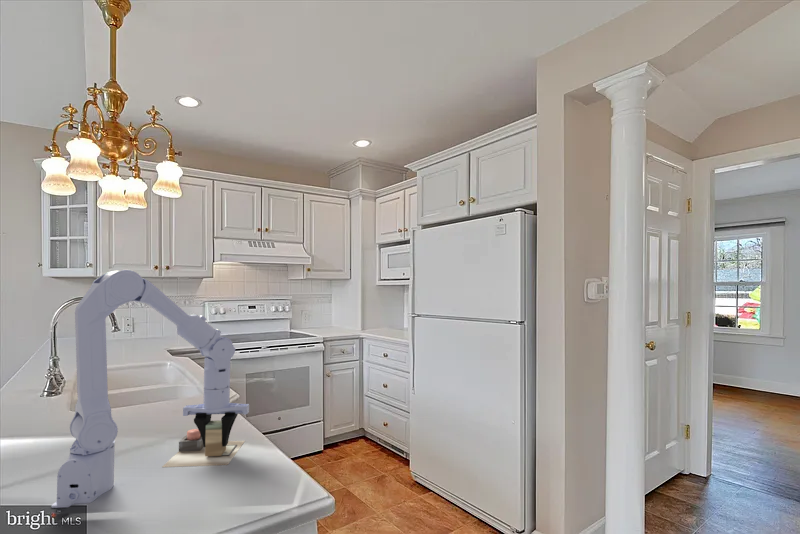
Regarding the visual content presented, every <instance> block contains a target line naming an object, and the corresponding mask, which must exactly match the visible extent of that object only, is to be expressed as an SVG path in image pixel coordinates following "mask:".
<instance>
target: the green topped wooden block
mask: <svg viewBox="0 0 800 534" xmlns="http://www.w3.org/2000/svg"><path fill="white" fill-rule="evenodd" d="M222 435H223V431H222V421H221V420H211V421H210V422H209V423H208V424H207V425H206V436H205V456H221V455H222V454H223V453H224V452H225V450H226V446H223V447H222Z"/></svg>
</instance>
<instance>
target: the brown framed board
mask: <svg viewBox="0 0 800 534" xmlns="http://www.w3.org/2000/svg"><path fill="white" fill-rule="evenodd" d="M245 442H246V440H228V444H227V445H226V450H225V452H224V453H223V454H222V455H221V456H205V447H204V446H203V441H202V437H201V434H200V439H199V440H187V434H186V435H185V436H184V437H183V438H181V439H180V440H179V441H178V451H177V452H176V453H175V454H174V455H173V456H172V457H171V458H170V459H168V461H166V462H165V463H164V464H163V465H162V466H161V468H179V467H182V468H183V467H184V468H185V467H209V466H228V465H229V464H230V462H231V461H232V460H233V458H234V457H235V455H236V454H237V453H238V452H239V451H240V449H241V447H243V444H244V443H245Z"/></svg>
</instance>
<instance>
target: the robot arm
mask: <svg viewBox="0 0 800 534" xmlns="http://www.w3.org/2000/svg"><path fill="white" fill-rule="evenodd" d="M91 283H92V284H91V285H90V287H89V289H88V290H87V291H86V293H85V294H84V295H83V296H82V298H81V299H80V301H79V303H78V304H77V305H76V307H75V309H74V310H75V312H74V319H75V320H74V323H75V325H74V329H75V357H76V358H75V359H76V384H77V385H76V389H77V399H76V402H75V406H74V408H75V410H74V416H73V418H72V420H71V422H70V424H69V432H70V434H71V436H72V437H74V439H75V440H74V442H73V443H72V444H71V446H70V447H69V456H68V458H67V460H66V461H65V462H64V463H63V464H62V465H61V467H60V468H59V469H58V472H57V479H56V501H55V502H54V503H52V504H51V506H50V507H51V508H52V509H54V508H55V509H57V508H69V507H71V506H72V505H75V504H91V503H92V502H94V501H95V500H96V499H97V498H99V497H100V496H101V495H103V494H105V493H106V492H108V491H110V490H111V489H113V488H114V482H115V481H114V480H115V455H116V454H115V453H116V451H115V449H116V448H115V446H116V438H117V436H118V432H119V431H118V430H119V428H118V425H117V423H116V422H115V420H114V419H113V417H112V416H113V415H112V408H111V404H110V401H109V400H110V399H109V390H108V363H107V361H108V360H107V359H108V358H107V357H108V356H107V327H106V326H107V325H106V324H107V323H106V319H107V318H108V316H110V315H111V314H112V313H113V312H114V311H116V310H117V309H118V308H119V307H120V306H122V305H125V304H127V303H131V302H136V303H141V304H145V305H147V306H149V307H151V308H152V309H154V311H155V312H158V313H159V314H160V315H162V316H163V317H164V318H165V319H167V320H168V321H170V322H171V323H173V324H174V325H175V326H176V333H177V335H178V336H180V337H181V338H183V340H185V341H187V343H189V344H190V345H191V346H193V347H194V348H195V349H196V350H198V351H199V352H200V355H201V356H202V357H204V361H203V362H204V367H203V371H204V372H203V403H199V404H198V403H197V404H191V405H190V404H188V405H186V404H185V406H183V408H182V416H183V417H187V416H192V415H193V416H194V415H195V417H194V418H193V423H194V424H195V426H196V427H197V428H196V429H198V430H199V432H200V434H201V437H202V441H203V446H204V447H205V436H206V425H207V424H208V423H209V422H210V421H212V415H223V416H222V417H221V421H222V431H223V435H222V447H223V446H226V445H227V444H228V441H229V439H230V435H231V431H232V428H233V425H234V423H235V421H236V419H237V417H238V415H239V414H242V415H248V413H250V404H249V403H234V402H230V401H231V399H230V398H231V397H230V394H231V392H230V391H231V360H232V358H233V356H234V355H235V353H236V347H235V345H234V344H233V343H234V342H233V341H232V339H230V338H228V337H226V336H221V332H222V331H221V330H219V329H218V328H214V327H213V326H211V324H209V323H208V322H206V320H207V317H205V315H198V314H196V313H195V314H188V313H187V312H185V310H183V309H182V308H181V307H180V306H179V305H178V304H176V303H175V302H174V301H173V300H172V299H171V298H169V297H168V296H167V295H166V294H165V293H164V292H163V291H162V290H160V289H159V288H158V287H157V286H156V285H154V284H153V283H152V282H151V281H149V280H148V279H146V278H143V277H142V276H141V275H140V274H139V273H137V271H134V270H132V269H122V270H110V271H107V272H105V273H104V274H102V275H100V276H99V277H98V278H96V279H94V280H93V282H91Z"/></svg>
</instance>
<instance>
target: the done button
mask: <svg viewBox="0 0 800 534" xmlns="http://www.w3.org/2000/svg"><path fill="white" fill-rule="evenodd" d="M186 435H187V440H199V439H200V432H199V430H198V428H193V429H189V430H187V431H186Z"/></svg>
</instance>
